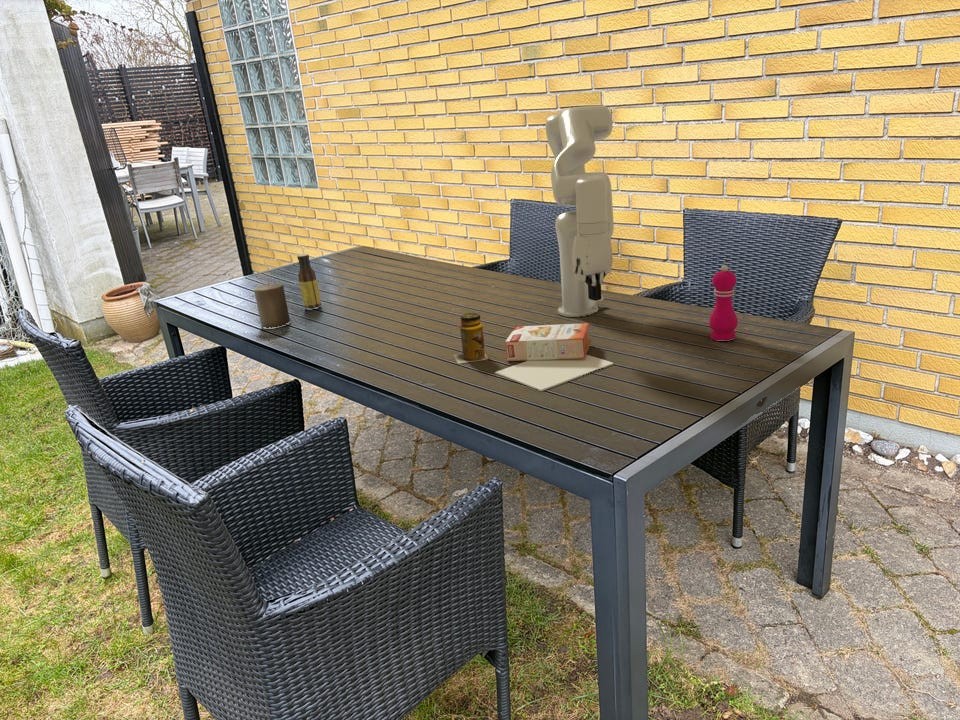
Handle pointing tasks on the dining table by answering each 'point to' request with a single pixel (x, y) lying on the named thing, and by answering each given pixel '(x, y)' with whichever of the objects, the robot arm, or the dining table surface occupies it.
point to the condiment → (471, 339)
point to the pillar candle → (272, 305)
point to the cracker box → (548, 342)
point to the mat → (552, 371)
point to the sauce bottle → (308, 283)
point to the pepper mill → (723, 306)
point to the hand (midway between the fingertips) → (594, 299)
